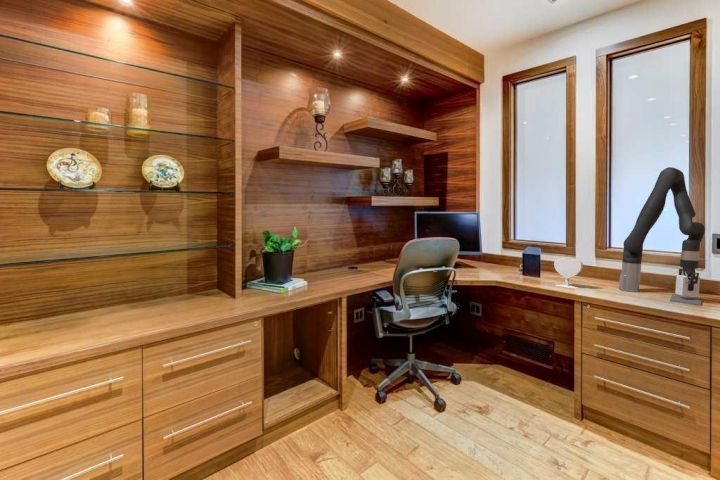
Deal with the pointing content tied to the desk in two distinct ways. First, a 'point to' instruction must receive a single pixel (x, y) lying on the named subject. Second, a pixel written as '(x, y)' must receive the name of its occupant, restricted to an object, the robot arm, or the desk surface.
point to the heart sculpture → (568, 269)
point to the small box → (686, 286)
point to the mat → (686, 299)
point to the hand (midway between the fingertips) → (686, 289)
